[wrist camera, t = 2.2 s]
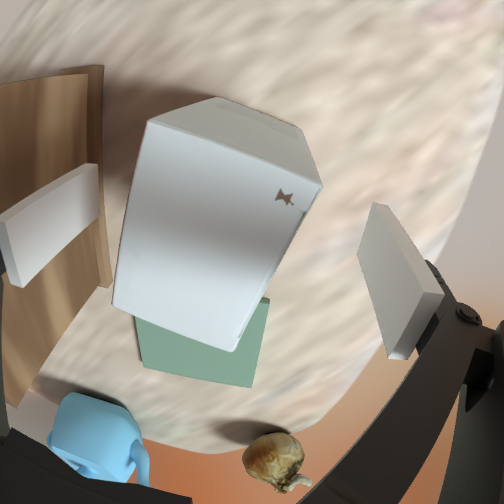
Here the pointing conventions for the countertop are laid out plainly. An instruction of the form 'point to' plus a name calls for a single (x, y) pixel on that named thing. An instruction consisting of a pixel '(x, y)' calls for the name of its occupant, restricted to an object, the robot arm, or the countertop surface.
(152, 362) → the mat
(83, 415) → the teapot
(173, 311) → the small box
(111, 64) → the countertop surface
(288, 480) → the onion
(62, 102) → the screen
